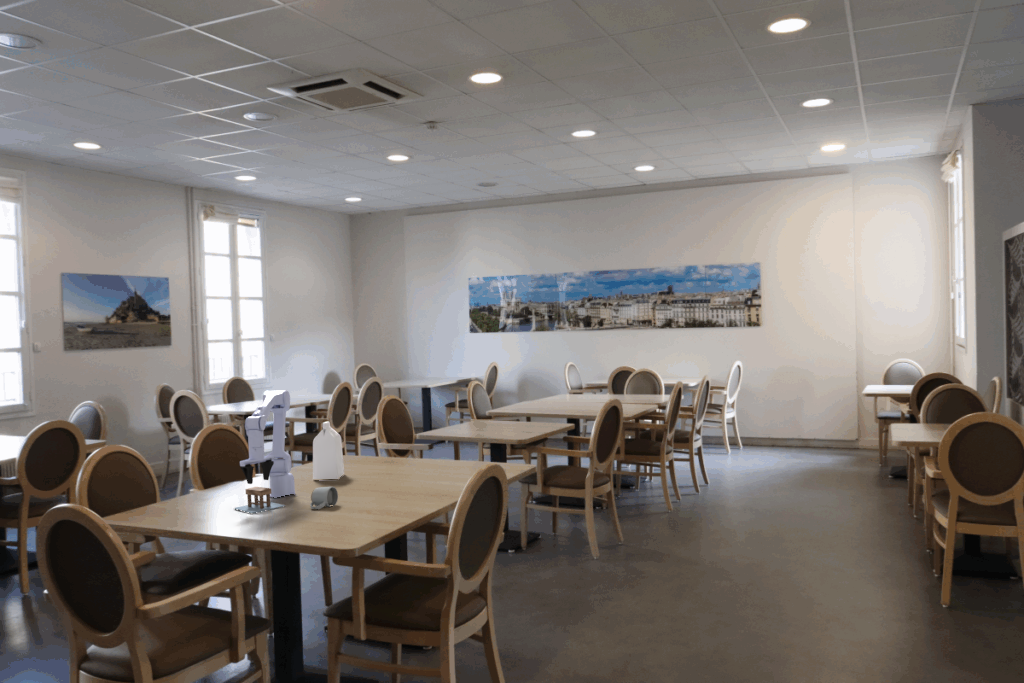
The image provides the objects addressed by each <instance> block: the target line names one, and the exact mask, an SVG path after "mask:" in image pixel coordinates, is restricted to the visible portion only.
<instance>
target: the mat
mask: <svg viewBox="0 0 1024 683" xmlns="http://www.w3.org/2000/svg"><path fill="white" fill-rule="evenodd" d="M270 505H271V506H270V507H267V503H264V508H263V509H260V505H254V504H252V507H248V504H247V505H242V506H237V507H234V508H235V509H238V510H242V511H245V512H249V513H255V514H257V513H256V512H260V513H262V512H261V511H264V512H266V511H265V510H269V511H271V510H270V509H273V510H275V509H274V508H278V507H282V508H284V507H283V506H285V507H286V505H285V504H281V503H276V502H272V501H270ZM278 509H279V508H278ZM245 512H244V513H245ZM249 513H248V514H249Z"/></svg>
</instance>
